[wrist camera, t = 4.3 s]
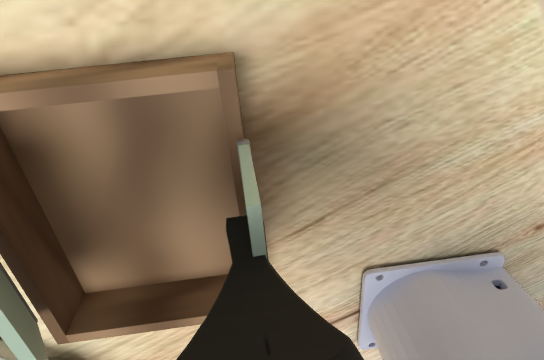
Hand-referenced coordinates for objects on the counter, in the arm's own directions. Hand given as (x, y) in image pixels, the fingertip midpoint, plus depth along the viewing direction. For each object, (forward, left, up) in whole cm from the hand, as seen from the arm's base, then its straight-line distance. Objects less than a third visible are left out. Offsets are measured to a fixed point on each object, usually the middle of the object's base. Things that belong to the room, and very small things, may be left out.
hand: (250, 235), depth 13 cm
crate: (+5, +1, -6) cm, 8 cm away
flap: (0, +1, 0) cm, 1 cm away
